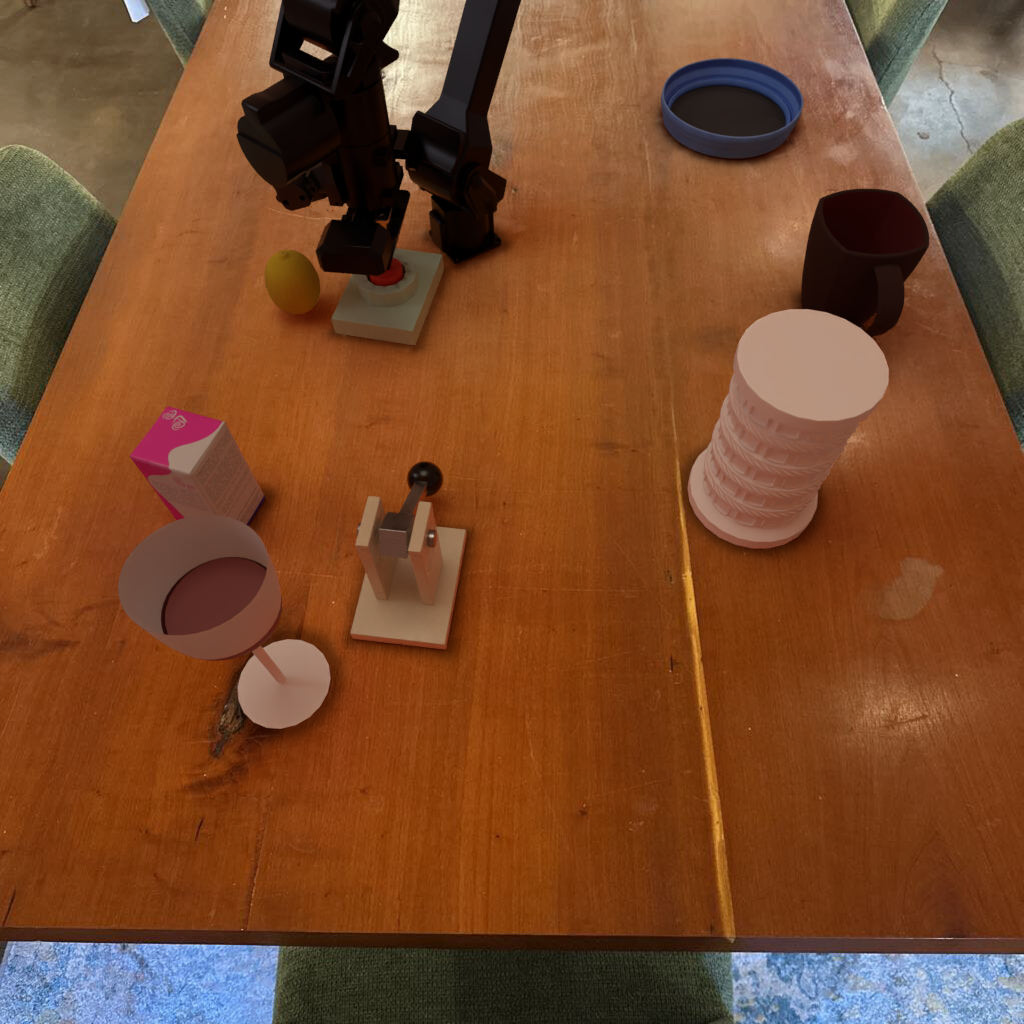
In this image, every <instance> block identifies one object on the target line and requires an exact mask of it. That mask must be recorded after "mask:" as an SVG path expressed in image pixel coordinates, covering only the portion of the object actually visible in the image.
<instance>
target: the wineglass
mask: <svg viewBox="0 0 1024 1024" xmlns="http://www.w3.org/2000/svg"><path fill="white" fill-rule="evenodd" d="M120 570H121V571H120V573H119V577H118V585H117V591H118V599H119V602H120V605H121V607H122V609H123V611H124V612H125V614H126V616H128V617H129V619H130V620H131V621H132V622H134V623H135V624H136V625H137V626H138V627H140V628H141V629H142V630H143V631H145V632H146V633H148V634H149V635H150V636H152V637H153V638H155V639H156V640H157V641H159V642H161V643H162V644H163V645H164V646H166V647H168V648H170V649H172V650H173V651H175V652H178V653H180V654H181V655H184V656H187V657H190V658H192V659H197V660H202V661H210V662H213V661H215V662H217V661H218V662H219V661H227V660H232V659H237V658H241V657H243V656H246V655H247V654H251V653H252V654H253V656H251V657H250V658H249V659H248V661H247V662H246V663H245V665H244V667H243V669H242V671H241V673H240V676H239V680H238V683H237V698H238V700H237V701H238V703H239V705H240V708H241V710H242V712H243V714H244V715H245V716H246V717H247V718H249V720H251V722H253V723H254V724H257V725H259V726H261V727H263V728H266V729H278V730H281V729H286V728H290V727H294V726H297V725H299V724H301V723H302V722H304V721H306V720H307V719H309V718H310V717H312V716H313V714H314V713H315V712H316V711H317V710H318V709H319V708H320V707H321V706H322V705H323V702H324V701H325V699H326V697H327V695H328V693H329V688H330V684H331V679H332V678H331V672H330V671H331V670H330V665H329V662H328V660H327V659H326V656H325V654H324V653H323V652H322V651H321V650H320V649H319V648H318V647H316V645H314V644H312V643H309V642H307V641H304V640H302V639H292V638H291V639H289V638H287V639H282V640H278V641H273V642H271V643H270V644H268V645H265V646H264V647H263V646H262V645H264V644H265V643H266V642H267V641H268V640H269V639H270V638H271V637H272V635H273V634H274V633H275V631H276V629H277V628H278V626H279V624H280V621H281V618H282V612H283V596H282V590H281V585H280V581H279V577H278V576H279V575H278V573H277V572H278V571H277V569H276V567H275V565H274V563H273V560H272V558H271V555H270V553H269V551H268V549H267V547H266V545H265V544H264V542H263V540H262V538H261V537H260V536H259V535H258V533H257V532H256V531H255V530H254V529H253V528H252V527H251V526H250V525H249V526H247V525H246V524H244V523H243V522H241V521H238V520H236V519H233V518H230V517H226V516H219V515H198V516H191V517H187V518H183V519H179V520H174V521H171V522H168V523H166V524H165V525H163V526H161V527H159V528H157V529H156V530H155V531H152V532H151V533H149V534H148V535H147V536H146V537H144V538H143V539H142V540H141V541H140V542H139V543H138V544H137V545H136V546H135V547H134V548H133V549H132V551H131V552H130V554H128V556H127V558H126V560H125V561H124V564H123V565H122V568H121V569H120Z"/></svg>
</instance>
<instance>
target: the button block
mask: <svg viewBox="0 0 1024 1024" xmlns="http://www.w3.org/2000/svg"><path fill="white" fill-rule="evenodd" d="M393 258H396V259H397V260H399V261H400V263H401V264H402V269H403V275H404V278H403V279H402V280H401V281H399V282H398V283H397V284H394V285H390V286H386V287H384V286H377V285H374V284H373V283H371V281H370V277H369V275H358V274H350V278H349V280H348V282H347V284H346V286H345V288H344V290H343V293H342V295H341V297H340V298H339V301H338V303H337V305H336V307H335V310H334V311H333V314H332V316H331V318H330V319H331V323H332V326H333V329H334V330H333V331H334V333H335V334H338V335H344V336H351V337H358V338H364V339H370V340H375V341H381V342H382V341H383V342H389V343H396V344H402V345H409V346H414V347H415V346H416V345H417V342H418V339H419V337H420V334H421V332H422V329H423V327H424V323H425V321H426V318H427V316H428V314H429V311H430V308H431V305H432V303H433V300H434V297H435V295H436V293H437V290H438V287H439V285H440V282H441V279H442V277H443V274H444V272H445V265H444V255H443V254H442V253H436V252H428V251H420V250H413V249H406V248H398V247H396V249H395V252H394V256H393Z"/></svg>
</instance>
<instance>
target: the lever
mask: <svg viewBox="0 0 1024 1024" xmlns="http://www.w3.org/2000/svg"><path fill="white" fill-rule="evenodd" d="M406 482H407V486H408V488H409V492H408V494H407V496H406V498H405V500H404V502H403V504H402V506H401V507H400V510H399V512H395V511H387V512H386V513H385V514H386V516H385V518H384V519H383V521H382V523H381V525H380V527H379V529H378V537H379V556H387V557H396V558H405V559H407V557H408V555H409V552H408V548H409V544H410V539H411V535H412V530H413V526H414V522H415V517H416V513H417V508H418V504H419V501H423V502H424V500H425V498H431V497H433V496H435V495H436V494H438V493H439V492H440V490H441V489H442V487H443V484H444V475H443V472H442V470H441V468H440V467H439V466H438V465H437V464H436V463H434V462H432V461H426V460H422V461H418V462H416V463H415V464H413V465H412V466H411V467H410V469H409V470H408V472H407V475H406Z"/></svg>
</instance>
